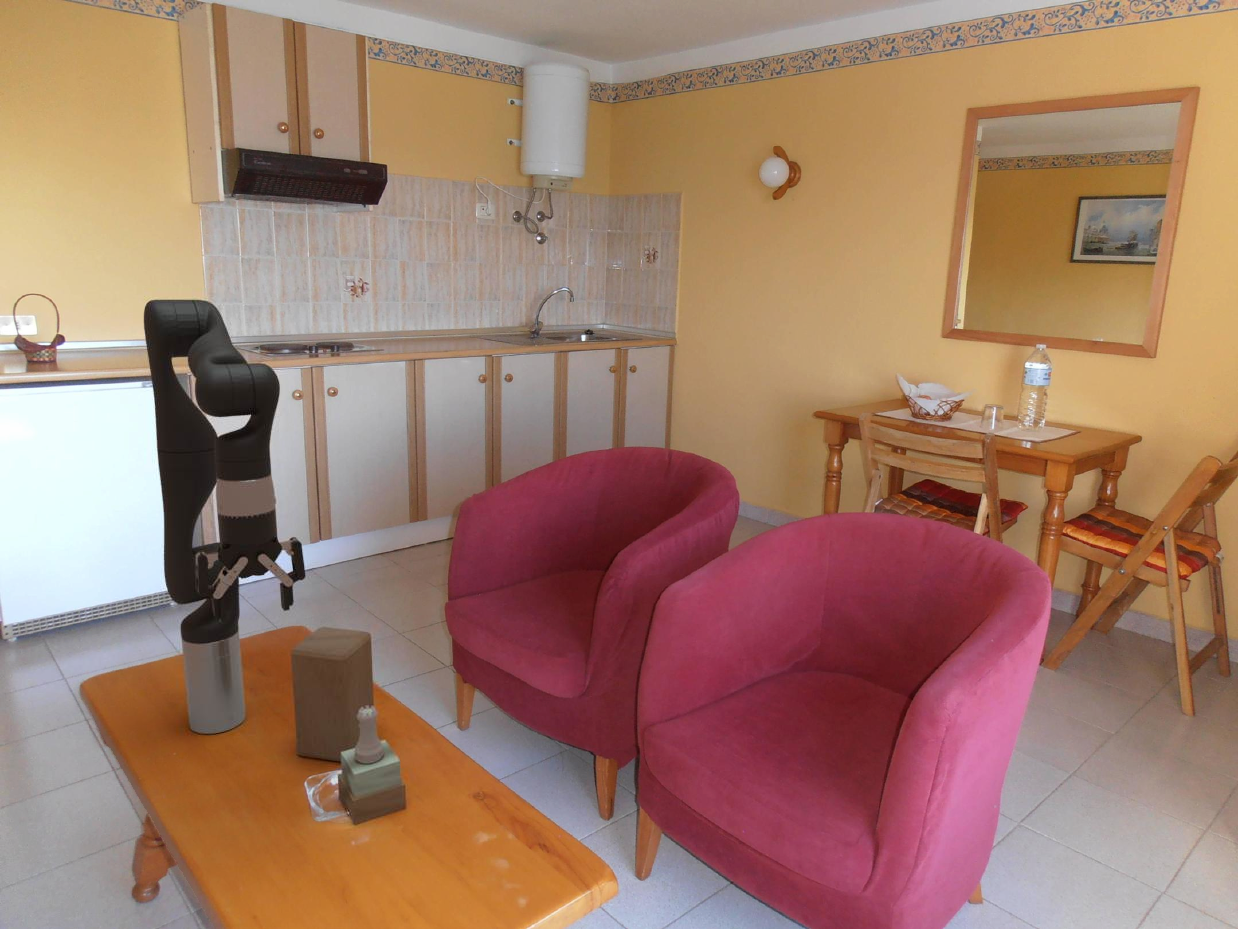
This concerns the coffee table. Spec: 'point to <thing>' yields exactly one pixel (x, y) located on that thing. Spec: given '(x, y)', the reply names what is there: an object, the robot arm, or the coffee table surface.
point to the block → (331, 690)
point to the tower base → (371, 802)
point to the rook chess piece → (368, 737)
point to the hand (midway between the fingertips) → (254, 614)
